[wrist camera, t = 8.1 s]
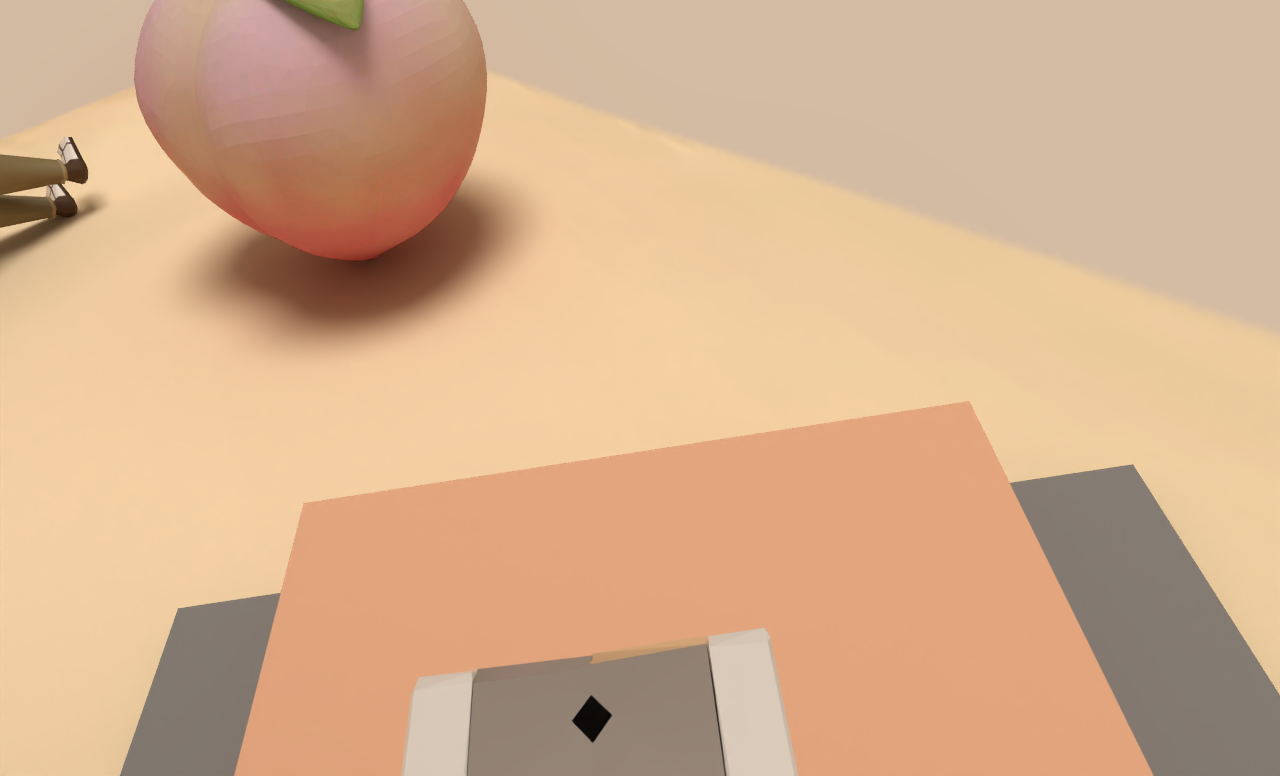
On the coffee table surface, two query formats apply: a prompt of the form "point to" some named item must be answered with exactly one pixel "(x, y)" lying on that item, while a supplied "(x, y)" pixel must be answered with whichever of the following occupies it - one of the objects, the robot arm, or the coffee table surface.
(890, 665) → the tile
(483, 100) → the decorative fruit
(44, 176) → the samurai figurine
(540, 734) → the robot arm
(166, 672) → the mat
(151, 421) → the coffee table surface
